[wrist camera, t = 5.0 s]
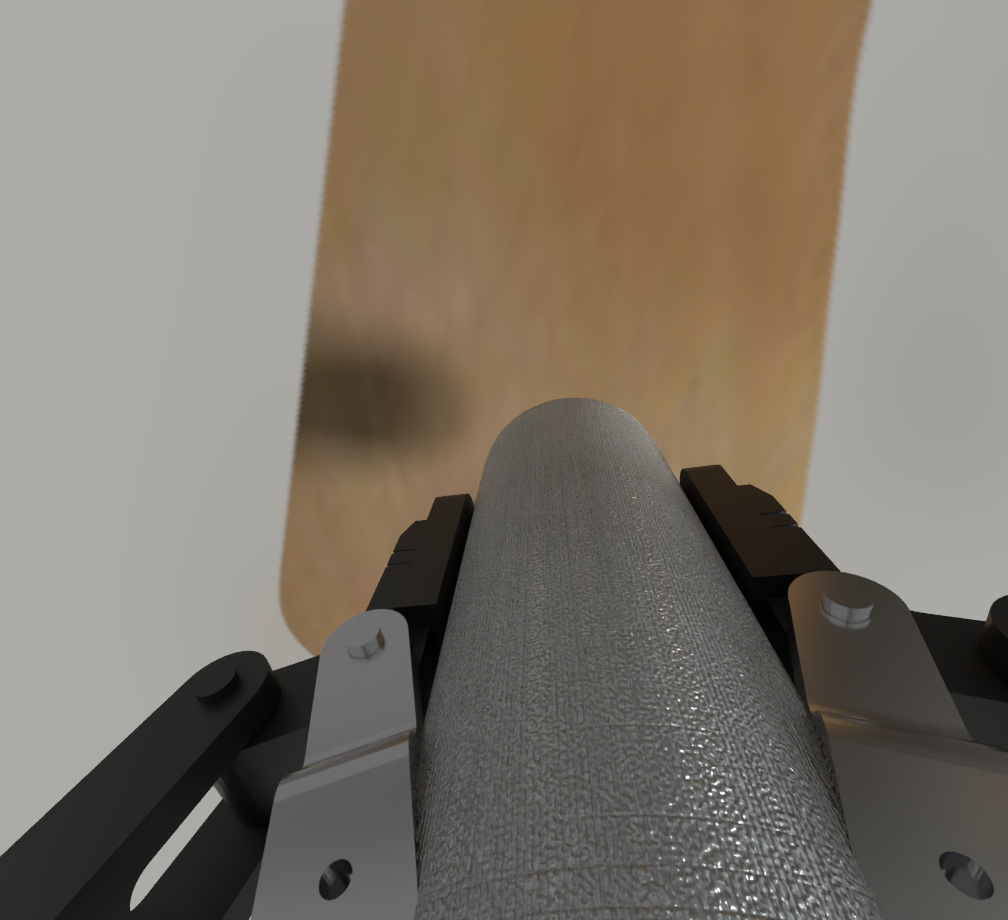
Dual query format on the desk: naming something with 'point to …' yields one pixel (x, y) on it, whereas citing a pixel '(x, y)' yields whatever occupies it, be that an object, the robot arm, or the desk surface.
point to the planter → (615, 708)
